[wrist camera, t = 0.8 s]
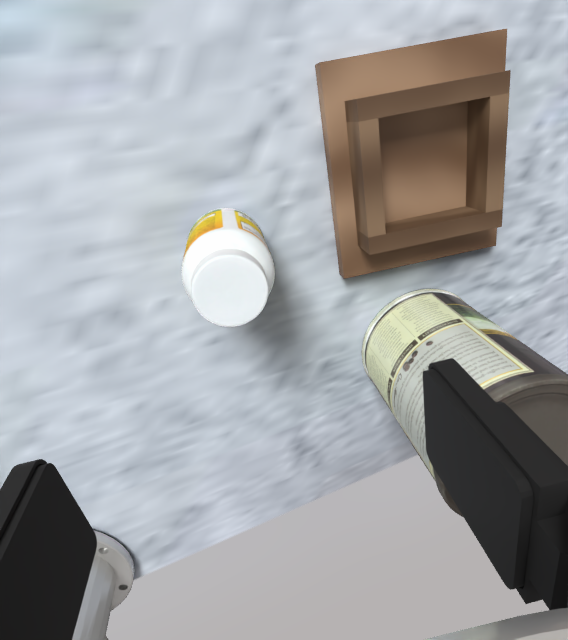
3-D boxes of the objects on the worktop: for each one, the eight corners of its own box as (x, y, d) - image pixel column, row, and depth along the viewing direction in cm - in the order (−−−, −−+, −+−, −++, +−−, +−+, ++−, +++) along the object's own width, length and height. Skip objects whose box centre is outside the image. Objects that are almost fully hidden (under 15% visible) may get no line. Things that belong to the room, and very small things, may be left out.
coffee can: (485, 283, 35) (638, 373, 23) (463, 388, 40) (581, 513, 27) (364, 290, 34) (457, 390, 21) (355, 398, 38) (428, 535, 26)
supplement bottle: (266, 209, 30) (288, 245, 21) (259, 282, 32) (278, 340, 24) (187, 203, 29) (178, 237, 20) (186, 278, 31) (177, 338, 23)
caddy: (486, 241, 34) (517, 254, 30) (339, 273, 33) (354, 290, 30) (495, 32, 28) (534, 19, 24) (315, 65, 27) (330, 56, 24)
